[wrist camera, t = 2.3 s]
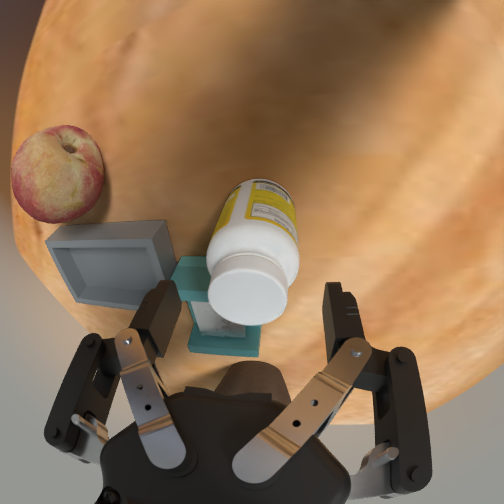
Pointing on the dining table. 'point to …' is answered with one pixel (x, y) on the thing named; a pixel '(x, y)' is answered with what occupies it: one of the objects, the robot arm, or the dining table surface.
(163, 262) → the trough
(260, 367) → the plant pot
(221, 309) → the supplement bottle
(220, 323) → the plate
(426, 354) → the dining table surface
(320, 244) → the dining table surface
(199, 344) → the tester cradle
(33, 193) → the fruit
